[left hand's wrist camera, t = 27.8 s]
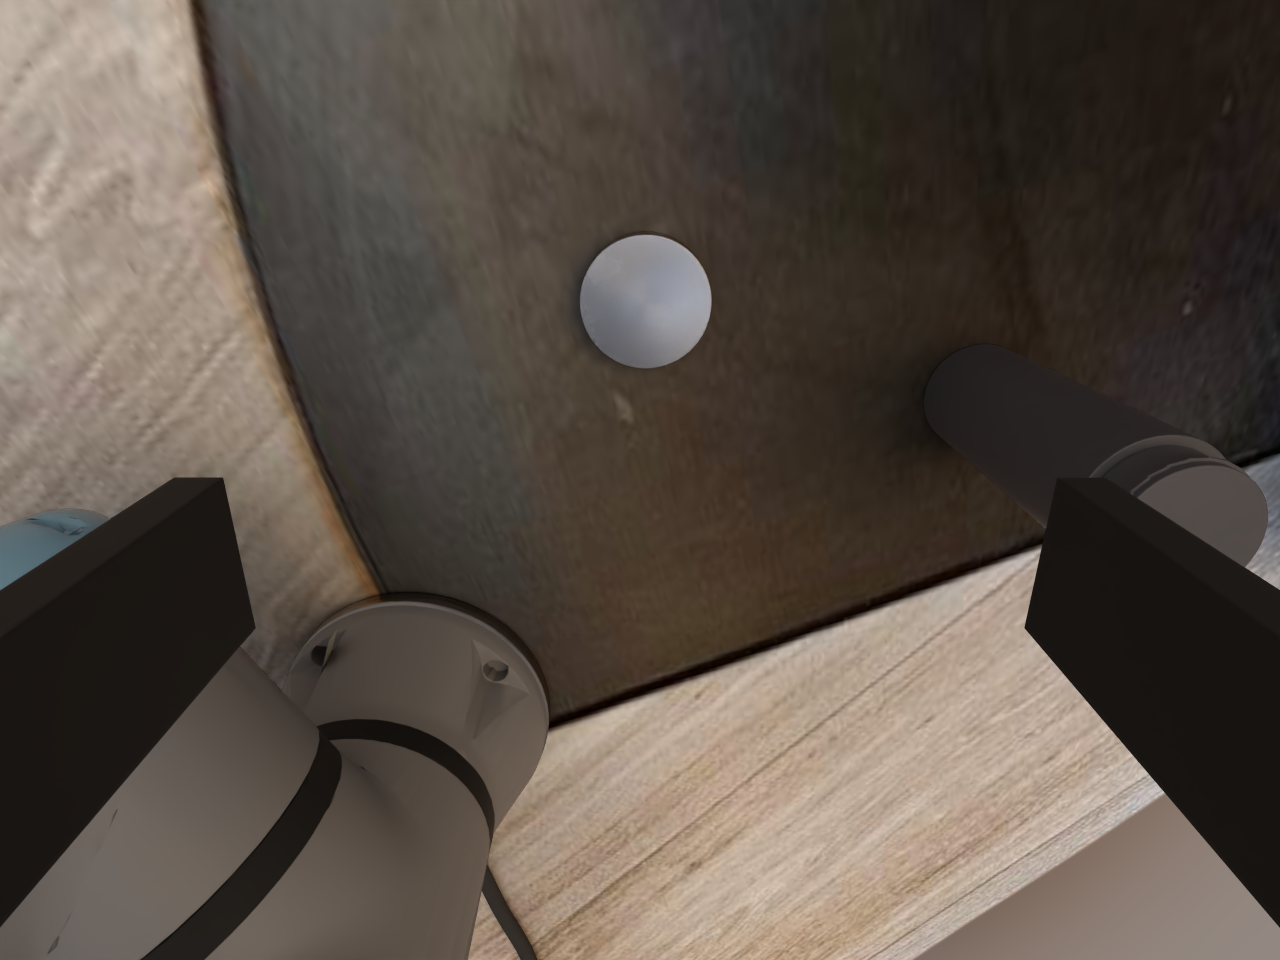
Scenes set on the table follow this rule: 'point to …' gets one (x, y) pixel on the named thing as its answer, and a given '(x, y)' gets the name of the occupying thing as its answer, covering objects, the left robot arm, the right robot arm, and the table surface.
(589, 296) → the lid
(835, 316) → the table surface
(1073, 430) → the jar
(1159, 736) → the left robot arm
